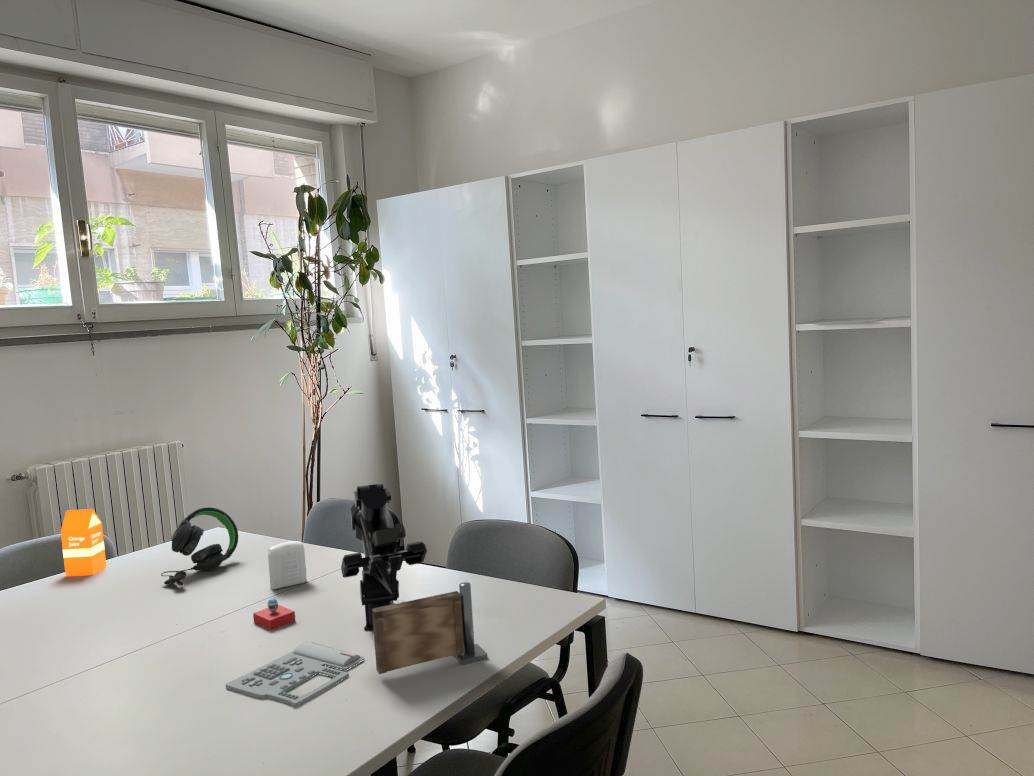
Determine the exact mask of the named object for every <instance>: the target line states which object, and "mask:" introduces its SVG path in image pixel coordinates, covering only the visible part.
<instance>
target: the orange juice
mask: <svg viewBox="0 0 1034 776" xmlns="http://www.w3.org/2000/svg"><path fill="white" fill-rule="evenodd" d="M60 536H61V539H60V540H61V546H62V555H63V564H64V573H65V577H79V576H80V577H81V576H83V577H84V576H94V575H96V574H97V573H100V572H101V571H102V570H104V569H106V568H107V560H106V559H107V558H106V551H105V541H104V533H103V522H102V521H101V519H100V518H99V516H98V514H96V511H95V510H94V509H93V508H88V509H87V508H85V509H70V510H69V509H67V510H66V511H65V515H64V518H63V523H62V525H61V529H60Z"/></svg>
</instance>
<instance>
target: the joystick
mask: <svg viewBox="0 0 1034 776" xmlns="http://www.w3.org/2000/svg"><path fill="white" fill-rule="evenodd" d="M278 602H279V601H278V600H277V599H276V598H275V597H272V598H270V599H269V600H268V601H267V608H264V609H261V610H259V611H258V610H257V611H256V612H255V611H254V612H253V613H252V615H253V623H254V624H256V625H258V626H260V627H262V628H264V629H266V630H268V631H273V630H276V629H279V628H281V627H284V626H286V625H289V624H292V623H295V622H296V614H295V610H292V609H290V608H287V607H284V606H282V605H279V603H278ZM294 621H295V622H294Z"/></svg>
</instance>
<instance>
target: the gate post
mask: <svg viewBox="0 0 1034 776" xmlns="http://www.w3.org/2000/svg"><path fill="white" fill-rule="evenodd" d="M458 586H459V587H458V588H459V593H460V594H461V609H462V624H463V639H464V653H463V654H459V655H457V654H456V655H452V656H453V658H456V659H457V660H458V661H457V660H456V659H455V660H456V661H457V662H458V663H459V664H460V665H461V666H464V665H467V664H469V663H470V664H471V663H475V662H478V661H482V660H487V659H489V658H488V657H489V656H488V653H487V651H485V650H484V649H483V648H482V647H481V646H480V645H479V644H478V643H475V633H474V619H473V605H472V604H473V602H472V587H471V586H472V585H471V583H470V582H468V581H467V582H460V583H459V585H458Z"/></svg>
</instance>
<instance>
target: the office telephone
mask: <svg viewBox="0 0 1034 776" xmlns="http://www.w3.org/2000/svg"><path fill="white" fill-rule="evenodd" d="M362 660H364V661H365V657H364V656H362V655H360V654H356V653H352V652H347V651H345V650H342V649H339V648H334V647H331V646H327V645H323V644H320V643H316V642H307V641H306V642H303V643H301V644H300V645H299V644H298V645H297V647H296V648H294V649H293V650H292V651H290V652H287V654H284V655H282V656H280V657H278V658H276V659H274V660H272V661H270V662H268V663H266V664H264V665H262V666H260V667H257V668H256V669H254V670H253V671H250V672H249V673H248V672H247V673H246V674H244V675H241V676H239V677H237V678H235V679H232V680H231V681H229V682H227V683H225V689H227V690H229V691H233V692H236V693H239V694H243V695H246V696H250V697H253V698H256V699H260V700H265V699H270V700H274V701H277V702H280V703H283V704H286V705H290V706H292V708H297V707H300V706H301V705H303V704H306V702H308V701H310V700H312V699H313V698H315V697H317V696H319V695H320V694H322V693H324V692H326V691H327V690H329V689H330V687H331V688H332V687H334V686H336V685H337V684H339V683H341V682H342V681H343V680H342V679H344V678H345V677H347V676H348V675H350V673H349V671H348V670H347V669H349V668H350V667H352V666H354V665H356V664H358V663H359V662H360V661H362ZM325 665H326V666H330V667H334V668H338V669H342V670H347V671H341V670H337V669H333V668H329V667H325ZM358 665H359V664H358ZM356 666H357V665H356ZM349 670H350V669H349ZM317 673H321V674H325V675H328V676H331V677H334V678H331V677H330V678H331V679H330V680H328V681H327V682H325V683H323V684H321V685H320V686H318V687H317V688H316V687H315V688H314V689H313V690H311V691H309V692H307V693H305V694H303V695H301V696H300V695H296V694H292V693H289V691H291V690H292V689H294V688H296V687H297V686H300V685H302V684H303V683H305V682H307V681H308V680H309V678H310V677H312V676H313V675H315V674H317ZM317 675H318V674H317ZM315 676H316V675H315ZM313 677H314V676H313ZM313 677H312V678H313ZM348 677H349V676H348ZM348 677H347V678H348ZM307 679H308V680H307ZM310 679H311V678H310ZM345 679H346V678H345ZM345 679H344V680H345ZM341 680H342V681H341ZM304 681H305V682H304ZM340 681H341V682H340ZM338 682H339V683H338ZM336 683H337V684H336ZM335 684H336V685H335ZM333 685H334V686H333ZM328 688H329V689H328Z"/></svg>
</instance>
